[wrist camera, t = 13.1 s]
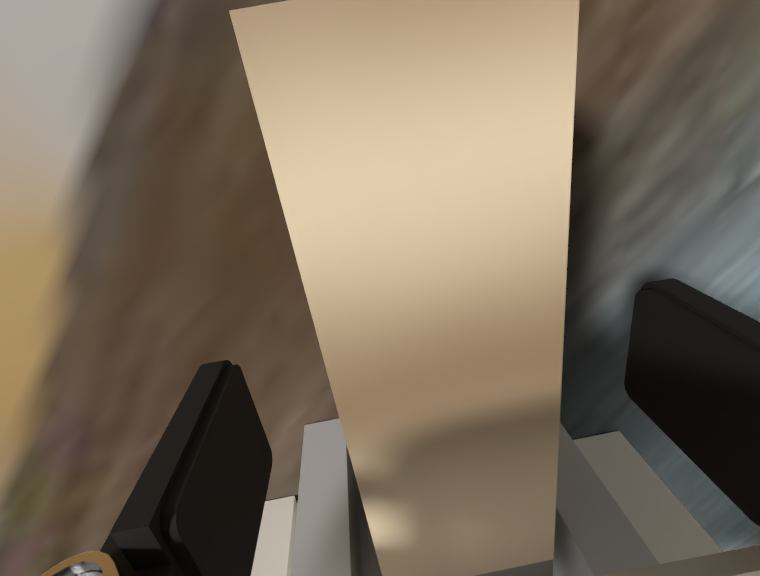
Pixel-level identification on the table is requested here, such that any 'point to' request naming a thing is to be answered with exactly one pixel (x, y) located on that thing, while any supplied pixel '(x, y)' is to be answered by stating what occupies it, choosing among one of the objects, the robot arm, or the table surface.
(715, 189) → the table surface
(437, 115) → the beige block
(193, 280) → the table surface
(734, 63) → the table surface
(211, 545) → the robot arm
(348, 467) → the white stand
